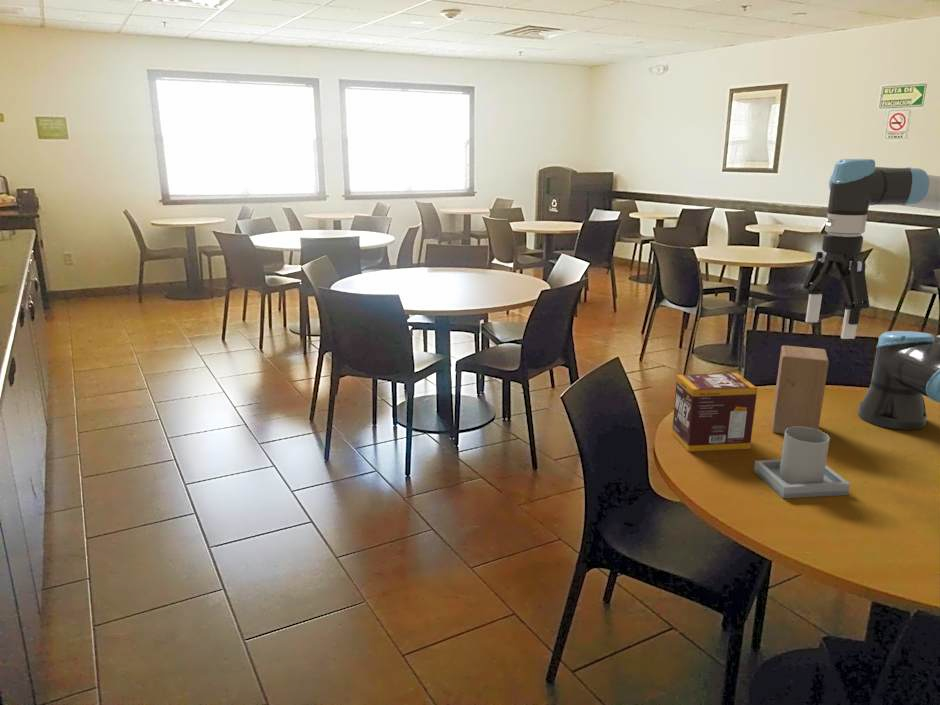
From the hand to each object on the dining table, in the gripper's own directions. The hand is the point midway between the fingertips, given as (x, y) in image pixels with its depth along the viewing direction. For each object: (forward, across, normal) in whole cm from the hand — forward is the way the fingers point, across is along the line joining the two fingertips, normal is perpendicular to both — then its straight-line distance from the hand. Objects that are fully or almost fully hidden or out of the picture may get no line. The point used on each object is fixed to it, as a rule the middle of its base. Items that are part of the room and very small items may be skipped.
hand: (828, 329), depth 153 cm
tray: (+29, +16, -12) cm, 35 cm away
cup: (+28, +16, -12) cm, 34 cm away
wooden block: (+29, -11, +2) cm, 31 cm away
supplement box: (+29, -6, -22) cm, 37 cm away
